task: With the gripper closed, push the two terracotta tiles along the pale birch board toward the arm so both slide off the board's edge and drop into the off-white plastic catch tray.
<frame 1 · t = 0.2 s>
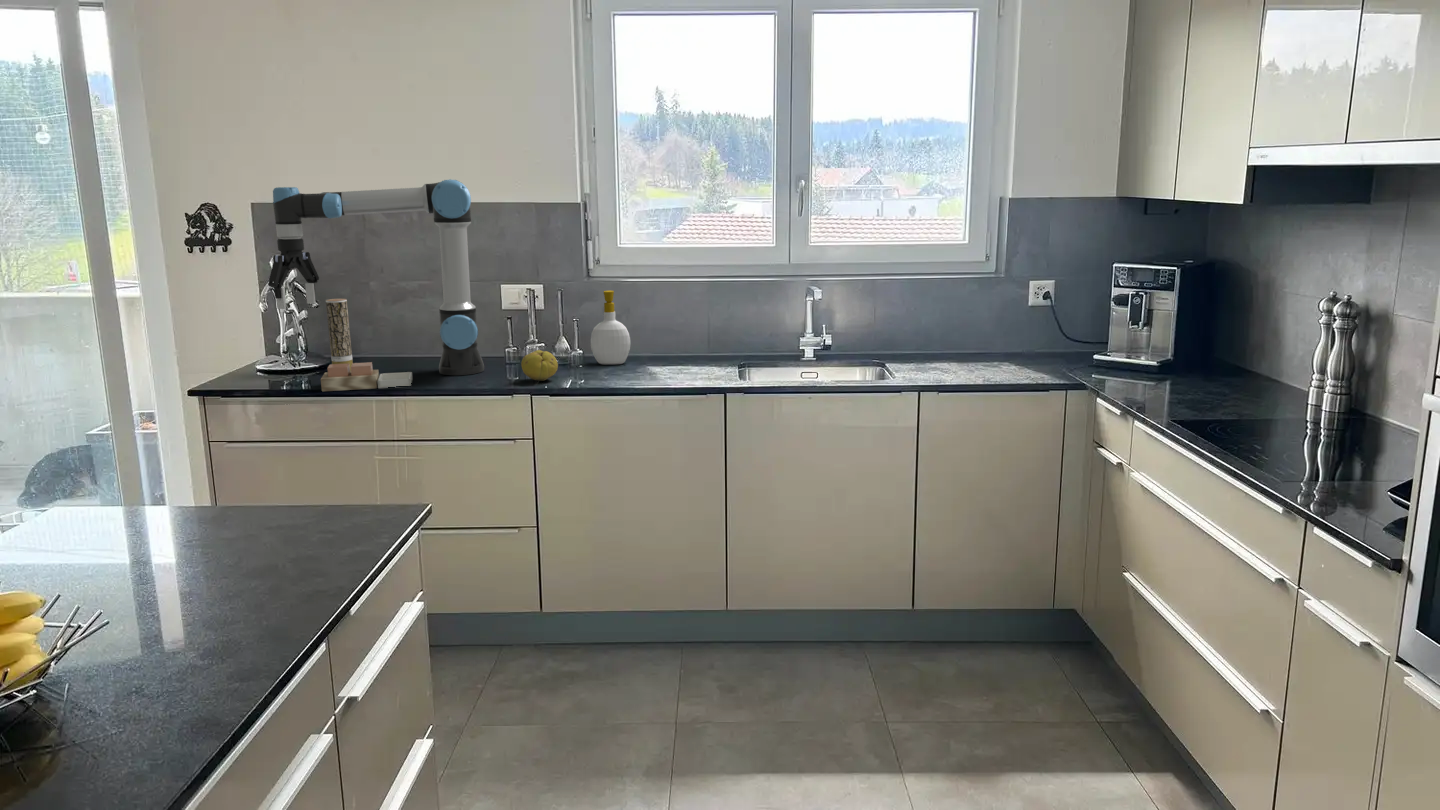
hand: (296, 306, 316), 26 cm above the table, fingers open, 13 cm apart
catch tray: (395, 383, 328), on the table
tile 2: (362, 373, 324), point 4 cm above the table, touching board
soap bottle: (611, 364, 359), on the table
fruit: (540, 381, 330), on the table
tile 1: (339, 374, 323), point 4 cm above the table, touching board
bark textured cylinder: (343, 372, 349), on the table
board: (351, 386, 325), on the table
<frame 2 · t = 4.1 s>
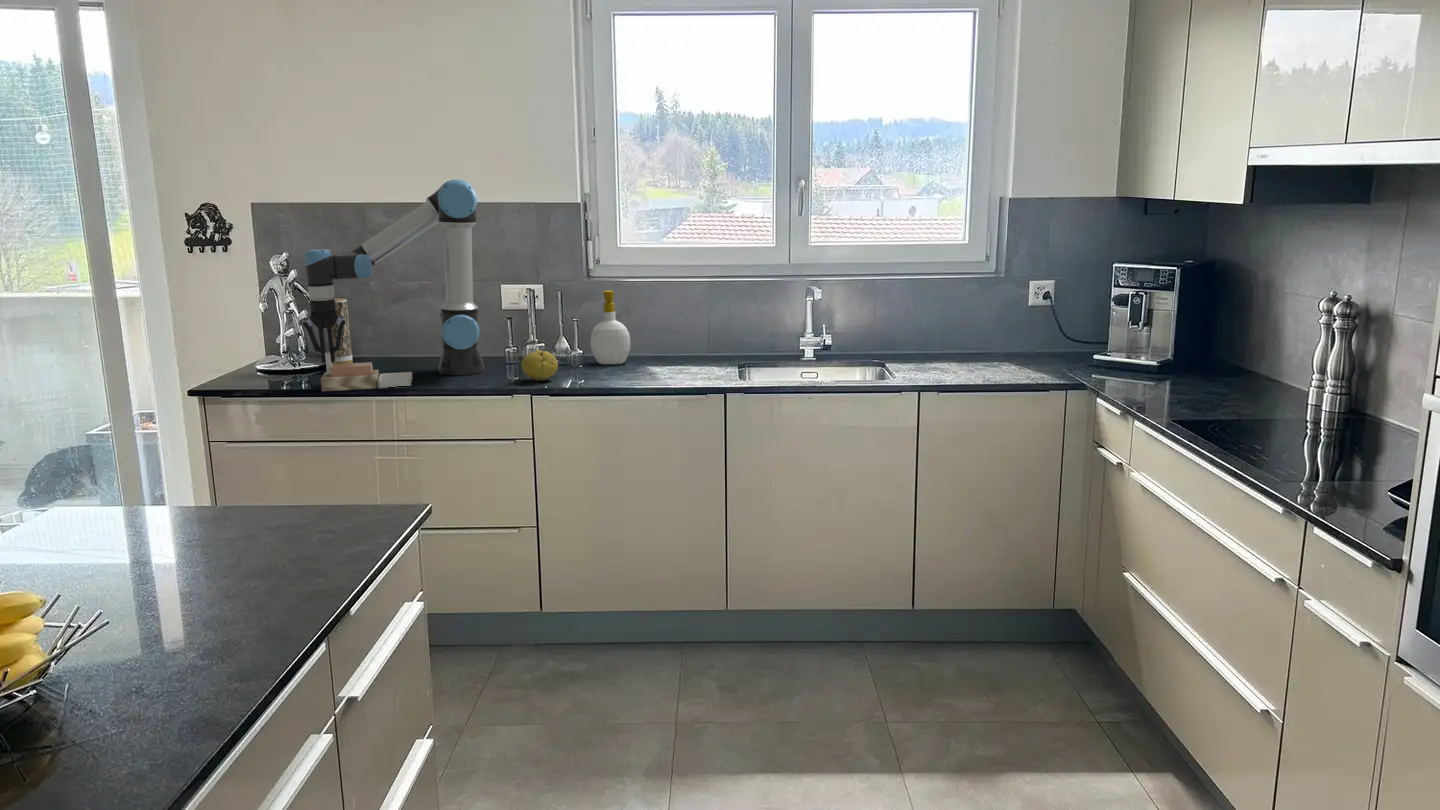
hand: (330, 372, 322), 5 cm above the table, fingers closed
tile 1: (342, 374, 323), point 4 cm above the table, touching board, gripper
everything else where it was.
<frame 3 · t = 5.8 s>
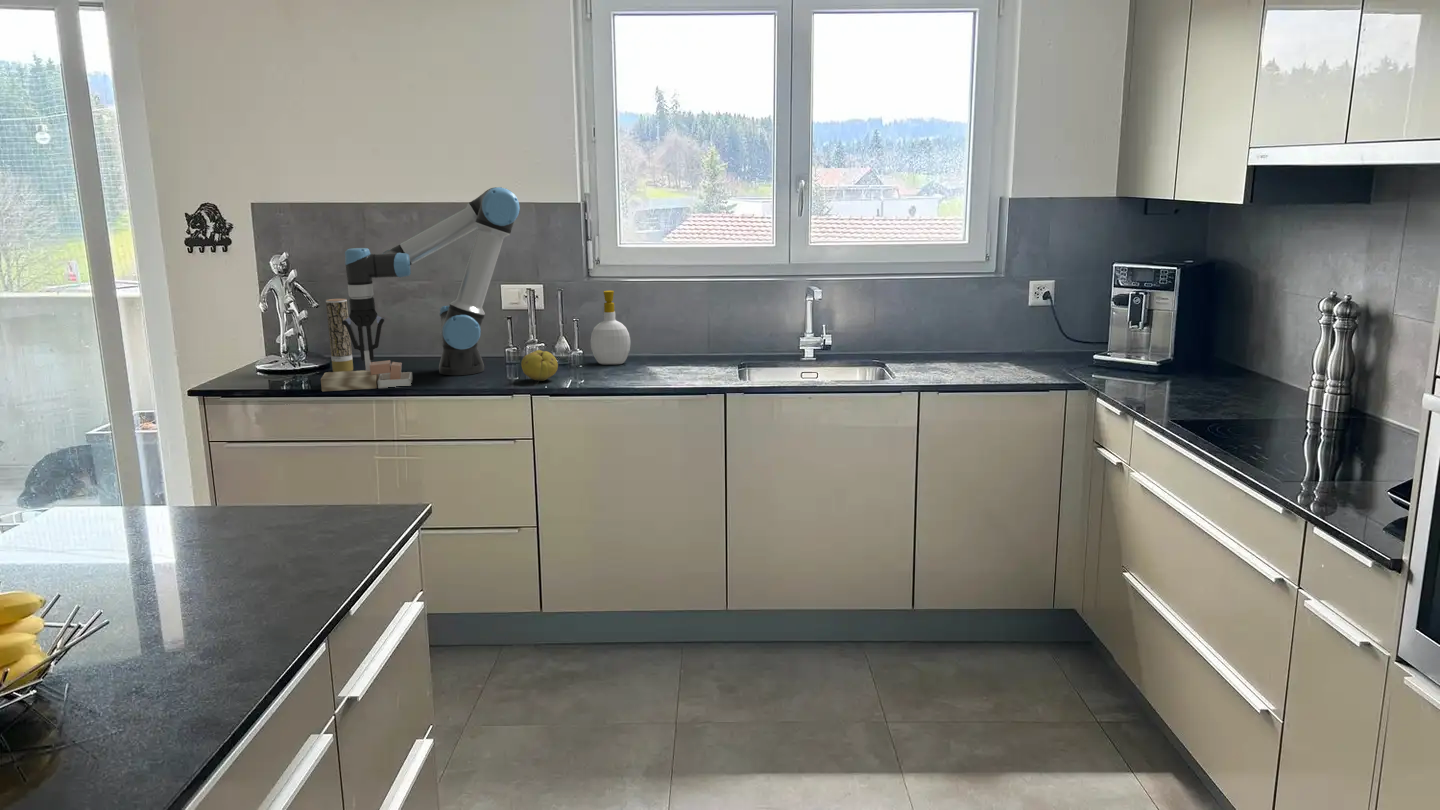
hand: (368, 370, 325), 5 cm above the table, fingers closed
tile 2: (391, 372, 327), point 4 cm above the table, tilted 99°, touching catch tray, tile 1
tile 1: (381, 371, 326), point 4 cm above the table, touching gripper, tile 2
everything else where it was.
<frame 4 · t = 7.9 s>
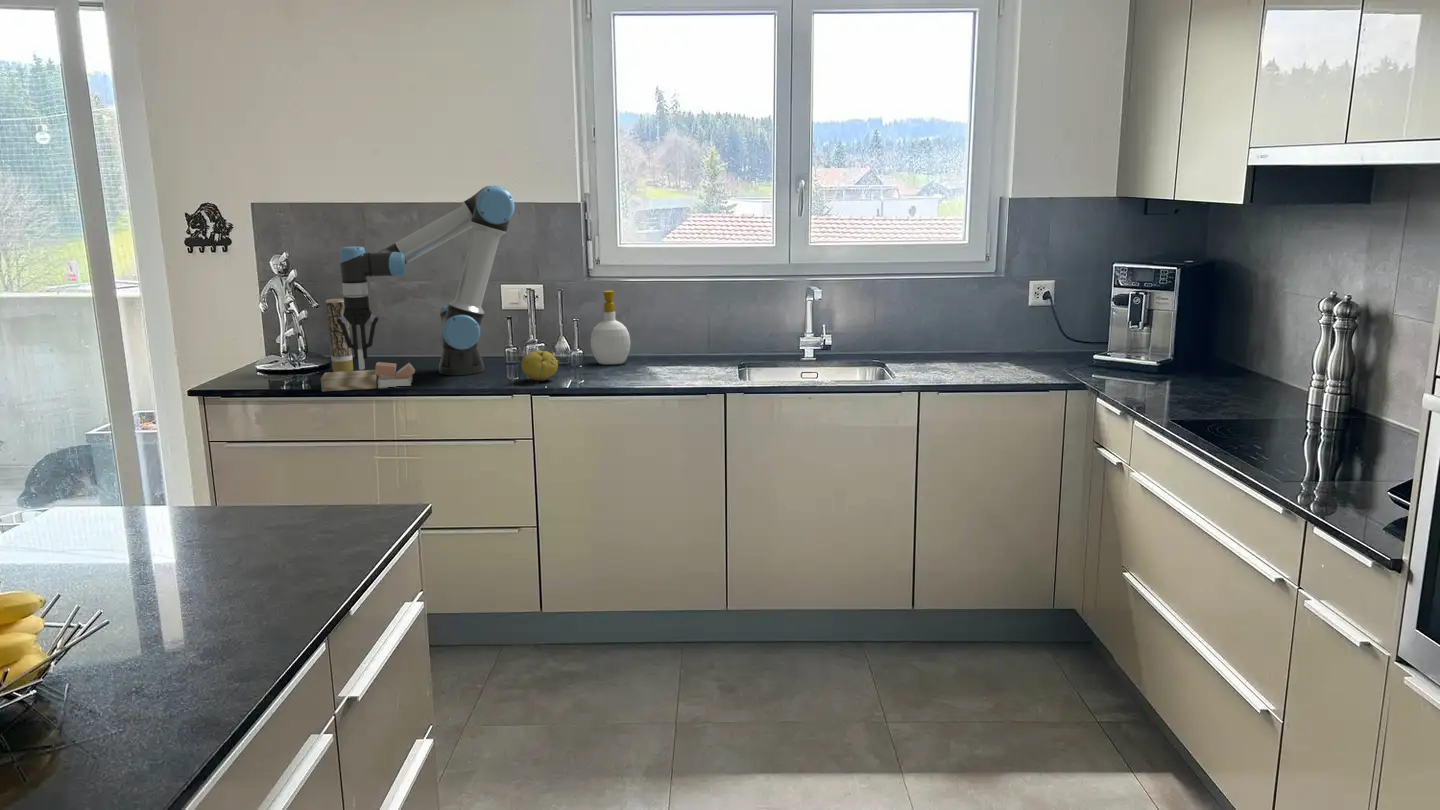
hand: (362, 368, 324), 6 cm above the table, fingers closed
tile 2: (401, 369, 327), point 5 cm above the table, tilted 145°, touching catch tray, tile 1
tile 1: (385, 373, 326), point 4 cm above the table, tilted 8°, touching board, tile 2
everything else where it was.
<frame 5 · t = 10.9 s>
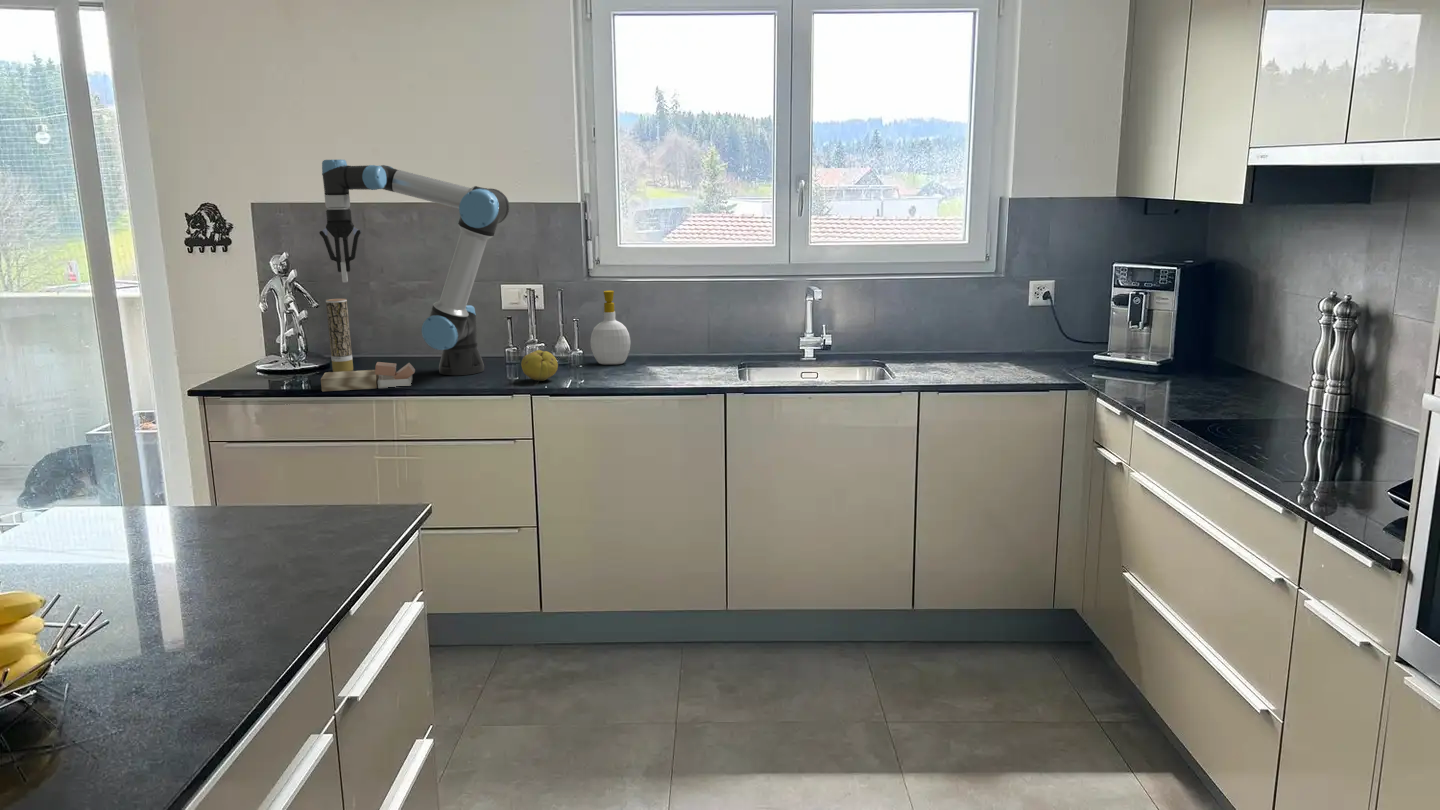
hand: (345, 281, 329), 32 cm above the table, fingers closed
nothing on the table moved.
at the end: tile 2 inside the target area on the catch tray (2.1 cm from its centre), point 4.6 cm above the catch tray's base; tile 1 inside the target area on the catch tray (2.9 cm from its centre), point 3.6 cm above the catch tray's base; the gripper is holding nothing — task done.
